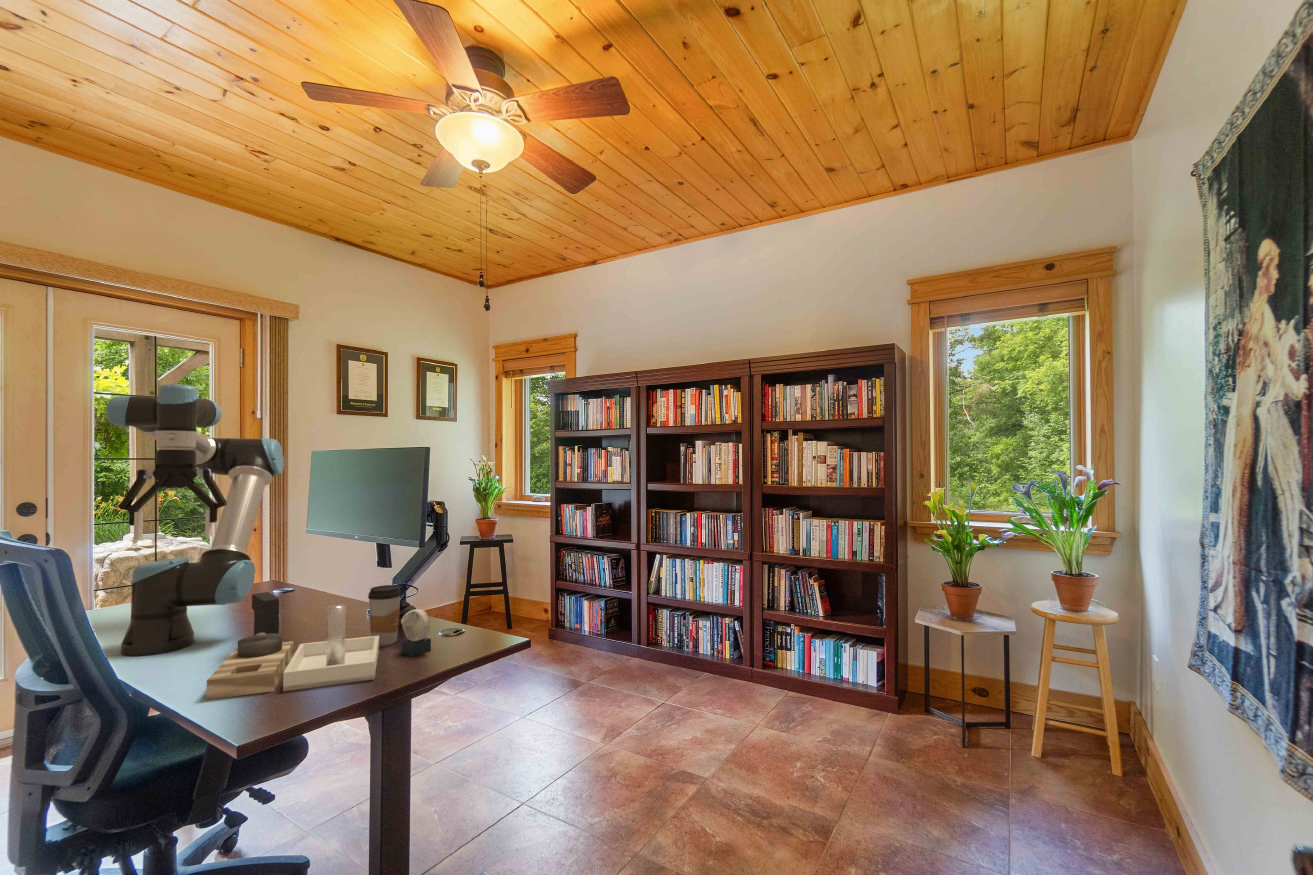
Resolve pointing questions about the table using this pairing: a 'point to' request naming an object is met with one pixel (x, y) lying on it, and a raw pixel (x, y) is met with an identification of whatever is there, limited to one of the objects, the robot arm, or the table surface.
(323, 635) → the table surface
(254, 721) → the table surface
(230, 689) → the tensioner plate
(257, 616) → the black upright block
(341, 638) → the lock pin
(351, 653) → the tray
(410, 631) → the watch
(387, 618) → the coffee cup
